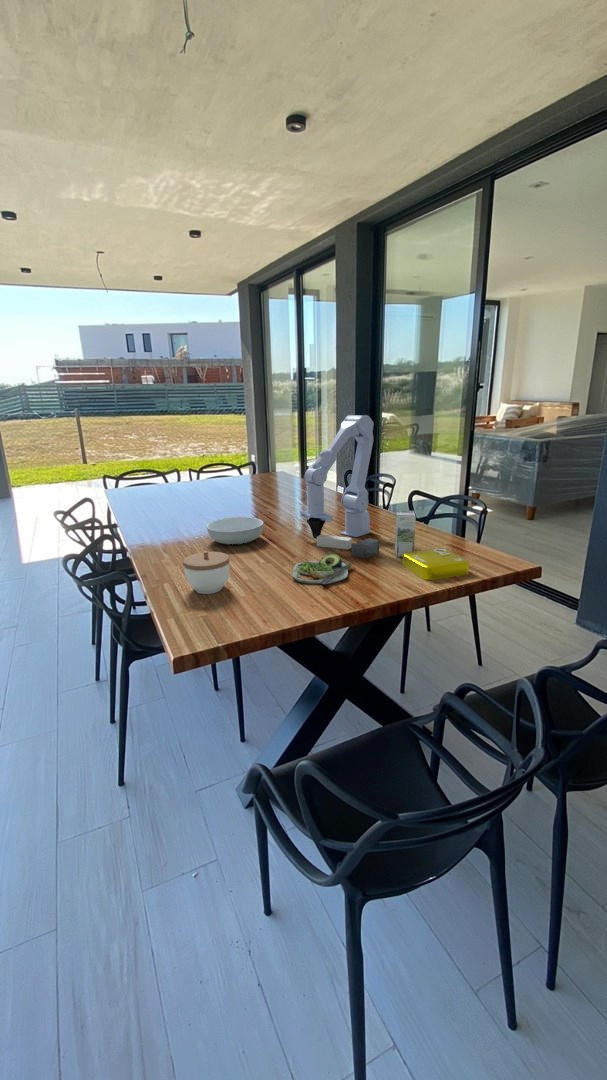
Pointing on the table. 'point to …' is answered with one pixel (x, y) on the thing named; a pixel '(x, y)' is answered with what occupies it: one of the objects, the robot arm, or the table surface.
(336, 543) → the gray rectangular block
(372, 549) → the dark gray block
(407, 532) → the syrup box
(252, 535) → the serving bowl
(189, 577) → the lidded sugar bowl
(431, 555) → the element tile
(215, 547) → the table surface
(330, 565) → the salad plate
